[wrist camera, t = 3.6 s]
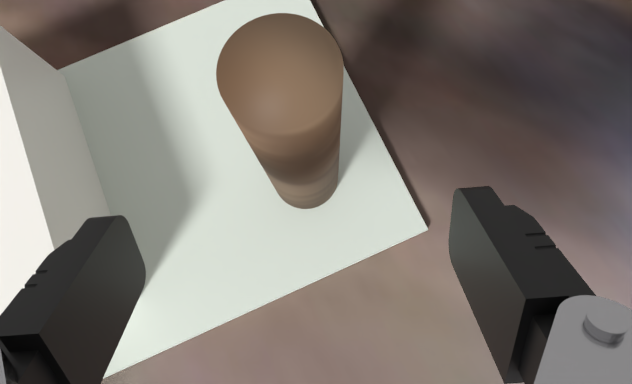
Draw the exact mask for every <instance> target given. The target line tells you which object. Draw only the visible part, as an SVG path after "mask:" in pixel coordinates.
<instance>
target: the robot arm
mask: <svg viewBox="0 0 632 384" xmlns="http://www.w3.org/2000/svg"><path fill="white" fill-rule="evenodd" d="M545 233H546V232H545V231H544V230H543V229H542V227H541V226H540V225H539V223H538V222H537V221H536V220H535V218H534V217H532V216H531V215H529V214H528V213H526V212H524V211H523V210H521V209H520V208H518V207H517V206H515V205H509V206H504V204H503V203H502V202H501V200H500V199H499V198H498V196H497V195H496V193H495V192H494V191H493V189H492V188H491V187H489V186H484V187H472V188H459V189H456V190H455V192H454V196H453V204H452V213H451V223H450V232H449V254H450V259H451V262H452V265H453V268H454V270H455V272H456V275H457V277H458V279H459V281H460V284H461V286H462V288H463V291H464V293H465V295H466V297H467V300H468V302H469V304H470V306H471V309H472V311H473V313H474V316H475V318H476V320H477V322H478V325H479V327H480V329H481V331H482V334H483V336H484V338H485V341H486V343H487V345H488V347H489V350H490V352H491V354H492V357H493V359H494V361H495V363H496V366H497V368H498V370H499V372H500V375H501V377H502V379H503V382H504V384H507V383H521V382H524V383H525V384H632V310H631V309H629V308H628V307H626V306H624V305H622V304H620V303H618V302H615V301H613V300H610V299H606V298H603V297H598V296H596V295H595V294H594V293H593V291H592V290H591V289H590V288H589V286H588V285H587V284H586V283H585V281H584V280H583V279H582V278H581V276H580V275H579V274H578V273H577V271H576V270H575V269H574V267H573V266H572V265H571V264H570V262H569V261H568V260H567V259H566V257H565V256H564V255H563V254H562V252H561V251H560V250H559V249H558V248H556V245H555V244H554V242H553V241H552V240H551V239H550V237H549V236H548V235H546V234H545ZM145 280H146V269H145V264H144V261H143V258H142V256H141V253H140V251H139V248H138V246H137V243H136V240H135V238H134V235H133V233H132V230H131V228H130V225H129V223H128V221H127V219H126V218H125V217H124V216H122V215H116V216H104V217H92V218H88V219H87V220H86V221H85V222H84V223H83V225H82V226H81V227H80V229H79V230H78V231H77V233H76V234H75V235H74V237H73V238H72V239H71V240H67V241H66V242H65V243H63V244H62V245H61V246H59V247H58V248H57V249H55V250H54V251H53V252H51V253H50V254H49V255H48V256H47V257H46V258H45V260H44V261H43V262H42V263H41V265H40V266H39V267H38V268H37V270H36V274H33V275H32V276H31V277H30V279H29V280H28V281H27V282H26V284H25V288H22V289H21V290H20V291H19V292H18V294H17V295H16V296H15V297H14V299H13V300H12V301H11V303H10V304H9V305H8V306H7V308H6V309H5V310H4V311H3V313H2V314H1V315H0V384H101V381H102V379H103V377H104V375H105V373H106V370H107V368H108V366H109V364H110V362H111V359H112V357H113V355H114V353H115V350H116V348H117V346H118V344H119V342H120V339H121V337H122V335H123V333H124V331H125V328H126V326H127V324H128V322H129V319H130V317H131V315H132V313H133V311H134V308H135V306H136V304H137V302H138V300H139V297H140V295H141V293H142V291H143V288H144V285H145Z"/></svg>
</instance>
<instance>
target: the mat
mask: <svg viewBox="0 0 632 384" xmlns="http://www.w3.org/2000/svg"><path fill="white" fill-rule="evenodd" d="M275 13H290V14H297V15H301V16H304V17H307V18H309V19H311V20H313V21H315V22H317V23H318V24H320V25H321V26H323V25H322V23H321V21H320V19H319V17H318V15H317V13H316V11H315V9H314V7H313V5H312V3H311V1H310V0H225V1H222V2H220V3H217V4H215V5H213V6H210V7H208V8H205V9H203V10H201V11H198V12H196V13H193V14H191V15H189V16H186V17H184V18H181V19H179V20H177V21H174V22H172V23H169V24H167V25H165V26H162V27H160V28H157V29H155V30H153V31H150V32H148V33H145V34H143V35H141V36H138V37H136V38H133V39H131V40H129V41H126V42H124V43H121V44H119V45H116V46H114V47H112V48H109V49H107V50H104V51H102V52H100V53H97V54H95V55H92V56H90V57H88V58H85V59H83V60H80V61H78V62H76V63H73V64H71V65H68V66H66V67H64V68H61V69H59V70H57V71H59V72H60V73H61V74H62V75H64V76H65V79H66V82H67V85H68V88H69V91H70V94H71V97H72V100H73V103H74V106H75V109H76V112H77V115H78V118H79V121H80V124H81V127H82V130H83V133H84V136H85V139H86V142H87V145H88V148H89V151H90V154H91V157H92V160H93V163H94V166H95V169H96V172H97V175H98V178H99V181H100V184H101V187H102V190H103V193H104V196H105V199H106V202H107V205H108V208H109V211H110V214H111V216H116V215H122V216H124V217H125V218H126V219H127V221H128V223H129V225H130V228H131V230H132V233H133V235H134V238H135V240H136V243H137V246H138V248H139V251H140V253H141V256H142V258H143V261H144V264H145V269H146V280H145V285H144V288H143V291H142V293H141V295H140V297H139V300H138V302H137V304H136V306H135V308H134V311H133V313H132V315H131V317H130V319H129V322H128V324H127V326H126V328H125V331H124V333H123V335H122V337H121V339H120V342H119V344H118V346H117V348H116V350H115V353H114V355H113V357H112V359H111V362H110V364H109V366H108V368H107V370H106V373H105V375H104V377H103V379H104V378H106V377H108V376H110V375H112V374H115V373H117V372H119V371H121V370H123V369H126V368H128V367H130V366H132V365H134V364H136V363H139V362H141V361H143V360H145V359H147V358H150V357H152V356H154V355H156V354H158V353H160V352H163V351H165V350H167V349H169V348H171V347H174V346H176V345H178V344H180V343H182V342H185V341H187V340H189V339H191V338H193V337H195V336H198V335H200V334H202V333H204V332H206V331H209V330H211V329H213V328H215V327H217V326H219V325H222V324H224V323H226V322H228V321H230V320H233V319H235V318H237V317H239V316H241V315H243V314H246V313H248V312H250V311H252V310H254V309H257V308H259V307H261V306H263V305H265V304H267V303H270V302H272V301H274V300H276V299H278V298H281V297H283V296H285V295H287V294H289V293H292V292H294V291H296V290H298V289H300V288H302V287H305V286H307V285H309V284H311V283H313V282H316V281H318V280H320V279H322V278H324V277H326V276H329V275H331V274H333V273H335V272H337V271H340V270H342V269H344V268H346V267H348V266H350V265H353V264H355V263H357V262H359V261H361V260H364V259H366V258H368V257H370V256H372V255H374V254H377V253H379V252H381V251H383V250H385V249H388V248H390V247H392V246H394V245H396V244H399V243H401V242H403V241H405V240H407V239H409V238H412V237H414V236H416V235H418V234H420V233H423V232H425V231H427V230H428V228H427V226H426V224H425V222H424V220H423V219H422V217H421V215H420V213H419V211H418V209H417V207H416V205H415V203H414V201H413V199H412V197H411V195H410V193H409V191H408V189H407V188H406V186H405V184H404V182H403V180H402V178H401V176H400V174H399V172H398V170H397V168H396V166H395V164H394V162H393V160H392V158H391V156H390V155H389V153H388V151H387V149H386V147H385V145H384V143H383V141H382V139H381V137H380V135H379V133H378V131H377V129H376V127H375V125H374V123H373V122H372V120H371V118H370V116H369V114H368V112H367V110H366V108H365V106H364V104H363V102H362V100H361V98H360V96H359V94H358V92H357V91H356V89H355V87H354V85H353V83H352V81H351V79H350V77H349V75H348V73H347V71H346V69H345V67H344V75H343V94H342V113H341V132H340V151H339V170H338V183H337V187H336V190H335V192H334V193H333V195H332V196H331V198H330V199H329V200H328V201H327V202H325V203H324V204H322V205H320V206H318V207H315V208H311V209H300V208H296V207H293V206H291V205H289V204H287V203H286V202H285V201H283V200H282V198H281V197H280V196H279V195H278V193H277V191H276V190H275V188H274V186H273V184H272V183H271V181H270V179H269V178H268V176H267V174H266V172H265V171H264V169H263V167H262V166H261V164H260V162H259V161H258V159H257V157H256V155H255V154H254V152H253V150H252V149H251V147H250V145H249V144H248V142H247V140H246V138H245V137H244V135H243V133H242V132H241V130H240V128H239V126H238V125H237V123H236V121H235V120H234V118H233V116H232V115H231V113H230V111H229V109H228V108H227V106H226V104H225V103H224V101H223V99H222V97H221V95H220V92H219V89H218V86H217V80H216V68H217V62H218V58H219V55H220V53H221V50H222V48H223V46H224V45H225V43H226V42H227V40H228V39H229V37H230V36H231V35H232V34H233V33H234V32H235V31H236V30H237V29H239V28H240V27H241V26H243V25H244V24H246V23H247V22H249V21H251V20H253V19H255V18H258V17H261V16H264V15H268V14H275ZM323 27H324V26H323Z"/></svg>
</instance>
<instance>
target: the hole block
mask: <svg viewBox="0 0 632 384" xmlns="http://www.w3.org/2000/svg"><path fill="white" fill-rule="evenodd" d="M104 216H111V214H110V211H109V208H108V205H107V202H106V199H105V196H104V193H103V190H102V187H101V184H100V181H99V178H98V175H97V172H96V169H95V166H94V163H93V160H92V157H91V154H90V151H89V148H88V145H87V142H86V139H85V136H84V133H83V130H82V127H81V124H80V121H79V118H78V115H77V112H76V109H75V106H74V103H73V100H72V97H71V94H70V91H69V88H68V85H67V82H66V79H65V76H64V75H62V74H61V73H60V72H59V71H57V70H56V69H55V68H53V67H52V66H51V65H50V64H48V63H47V62H46V61H45V60H43V59H42V58H41V57H39V56H38V55H37V54H36V53H34V52H33V51H32V50H31V49H29V48H28V47H27V46H25V45H24V44H23V43H22V42H20V41H19V40H18V39H16V38H15V37H14V36H13V35H11V34H10V33H9V32H8V31H6V30H5V29H4V28H2V27H1V26H0V315H1V314H2V313H3V311H4V310H5V309H6V308H7V306H8V305H9V304H10V303H11V301H12V300H13V299H14V297H15V296H16V295H17V294H18V292H19V291H20V290H21V289H22V288H25V284H26V282H27V281H28V280H29V279H30V277H31V276H32V275H33V274H36V270H37V268H38V267H39V266H40V265H41V263H42V262H43V261H44V260H45V258H46V257H47V256H48V255H49V254H50V253H51V252H53V251H54V250H55V249H57V248H58V247H59V246H61V245H62V244H63V243H65V242H66V241H67V240H71V239H72V238H73V237H74V235H75V234H76V233H77V231H78V230H79V229H80V227H81V226H82V225H83V223H84V222H85V221H86V220H87V219H88V218H92V217H104Z"/></svg>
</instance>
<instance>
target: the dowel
mask: <svg viewBox="0 0 632 384" xmlns="http://www.w3.org/2000/svg"><path fill="white" fill-rule="evenodd" d="M343 75H344V65H343V58H342V54H341V51H340V49H339V46H338V44H337V43H336V41H335V39H334V38H333V37H332V35H331V34H330V33H329V32H328V31H327V30H326V29H325V28H324V27H323V26H321V25H320V24H318V23H317V22H315V21H313V20H311V19H309V18H307V17H304V16H301V15H297V14H290V13H275V14H268V15H264V16H261V17H258V18H255V19H253V20H251V21H249V22H247V23H246V24H244V25H243V26H241V27H240V28H239V29H237V30H236V31H235V32H234V33H233V34H232V35H231V36H230V37H229V39H228V40H227V42H226V43H225V45H224V46H223V48H222V50H221V53H220V55H219V58H218V62H217V68H216V80H217V86H218V89H219V92H220V95H221V97H222V99H223V101H224V103H225V104H226V106H227V108H228V109H229V111H230V113H231V115H232V116H233V118H234V120H235V121H236V123H237V125H238V126H239V128H240V130H241V132H242V133H243V135H244V137H245V138H246V140H247V142H248V144H249V145H250V147H251V149H252V150H253V152H254V154H255V155H256V157H257V159H258V161H259V162H260V164H261V166H262V167H263V169H264V171H265V172H266V174H267V176H268V178H269V179H270V181H271V183H272V184H273V186H274V188H275V190H276V191H277V193H278V195H279V196H280V197H281V198H282V200H283V201H285V202H286V203H287V204H289V205H291V206H293V207H296V208H300V209H311V208H315V207H318V206H320V205H322V204H324V203H325V202H327V201H328V200H329V199H330V198H331V196H332V195H333V193H334V192H335V190H336V187H337V183H338V170H339V151H340V132H341V113H342V94H343Z"/></svg>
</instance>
